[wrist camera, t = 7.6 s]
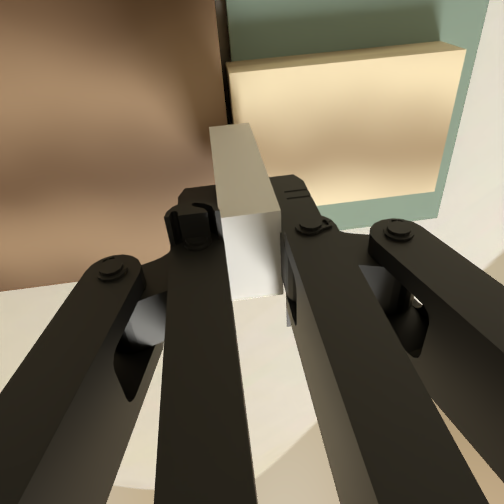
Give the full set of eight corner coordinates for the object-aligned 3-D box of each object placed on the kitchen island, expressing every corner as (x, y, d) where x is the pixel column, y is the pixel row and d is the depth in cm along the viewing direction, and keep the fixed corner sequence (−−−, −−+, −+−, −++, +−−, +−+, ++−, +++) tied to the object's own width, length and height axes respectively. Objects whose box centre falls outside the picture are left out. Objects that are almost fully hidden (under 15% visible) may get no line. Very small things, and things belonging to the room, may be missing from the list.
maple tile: (225, 62, 16) (229, 73, 15) (440, 40, 17) (466, 49, 15) (238, 194, 20) (242, 215, 18) (415, 173, 20) (434, 191, 19)
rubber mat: (222, -32, 15) (223, -32, 14) (494, -56, 15) (502, -57, 15) (247, 236, 22) (248, 241, 21) (432, 213, 22) (436, 217, 22)
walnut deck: (-194, 4, 14) (-244, 9, 12) (208, -32, 15) (211, -30, 13) (-28, 271, 21) (-45, 297, 19) (238, 238, 22) (241, 260, 20)
